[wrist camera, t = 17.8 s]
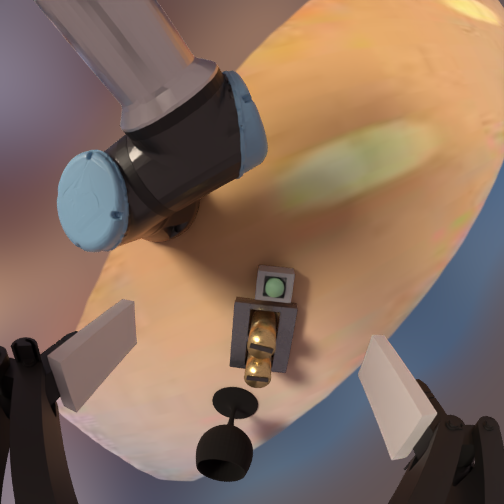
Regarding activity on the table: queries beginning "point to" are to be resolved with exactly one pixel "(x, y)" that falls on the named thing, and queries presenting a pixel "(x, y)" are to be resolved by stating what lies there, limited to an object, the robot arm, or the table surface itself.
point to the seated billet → (262, 334)
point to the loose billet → (257, 371)
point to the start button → (274, 286)
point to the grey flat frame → (242, 331)
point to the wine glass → (227, 438)
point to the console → (270, 271)
